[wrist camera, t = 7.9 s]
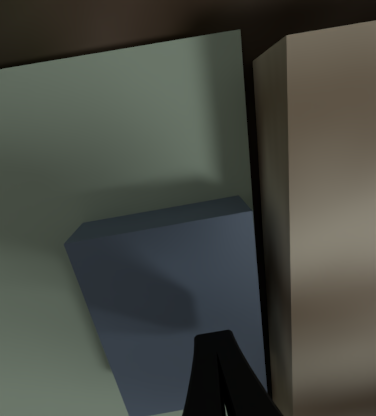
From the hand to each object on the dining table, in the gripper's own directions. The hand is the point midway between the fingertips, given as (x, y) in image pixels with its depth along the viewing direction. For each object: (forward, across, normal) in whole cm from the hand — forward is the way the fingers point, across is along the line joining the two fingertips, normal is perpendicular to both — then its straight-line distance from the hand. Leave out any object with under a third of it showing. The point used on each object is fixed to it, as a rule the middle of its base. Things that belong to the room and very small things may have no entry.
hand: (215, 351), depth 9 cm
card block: (+3, +1, 0) cm, 4 cm away
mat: (+4, +7, 0) cm, 8 cm away
